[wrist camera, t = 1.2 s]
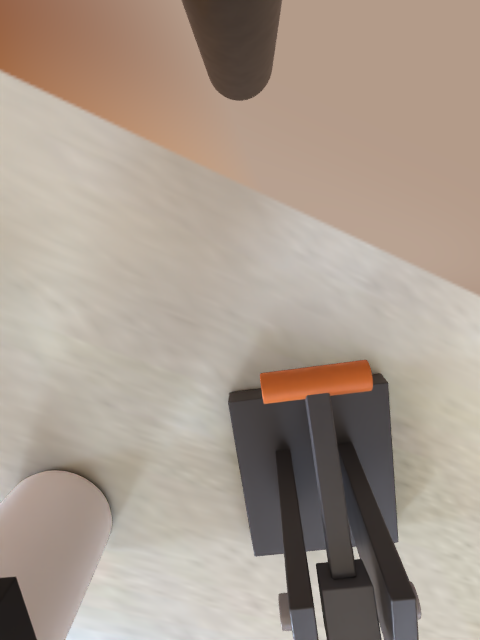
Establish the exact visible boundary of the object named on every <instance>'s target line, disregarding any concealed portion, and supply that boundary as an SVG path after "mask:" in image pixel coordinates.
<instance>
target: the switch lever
mask: <svg viewBox="0 0 480 640" xmlns="http://www.w3.org/2000/svg"><path fill="white" fill-rule="evenodd" d="M260 382H261V390H262V397H263V402H264V404H268V403H277V402H285V401H293V400H301V399H305V403H306V410H307V417H308V424H309V431H310V438H311V445H312V452H313V459H314V466H315V473H316V480H317V487H318V494H319V502H320V509H321V516H322V523H323V530H324V537H325V544H326V551H327V558H328V562H326V563H317V564H316V569H317V576H318V583H319V591H320V598H321V605H322V612H323V619H324V626H325V631H326V637H327V640H381V634H380V627H379V620H378V614H377V607H376V600H375V594H374V587H373V584H372V582H371V579H370V577H369V575H368V572H367V570H366V568H365V565H364V563H363V561H362V559H357V560H354V555H353V548H352V542H351V535H350V528H349V521H348V514H347V508H346V501H345V494H344V487H343V481H342V474H341V467H340V460H339V453H338V447H337V440H336V433H335V426H334V419H333V413H332V406H331V399H330V396H333V395H342V394H350V393H358V392H366V391H371V390H372V388H373V378H372V372H371V368H370V365H369V363H368V361H367V360H360V361H352V362H344V363H337V364H329V365H321V366H313V367H305V368H298V369H290V370H282V371H274V372H266V373H261V374H260Z"/></svg>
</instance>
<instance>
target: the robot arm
mask: <svg viewBox="0 0 480 640" xmlns="http://www.w3.org/2000/svg"><path fill="white" fill-rule="evenodd" d="M0 640H37V638H36V635H35V632H34V629H33V626H32V623H31V620H30V617H29V614H28V611H27V608H26V605H25V602H24V599H23V596H22V593H21V590H20V587H19V584H18V581H17V578H16V577H4V578H0Z"/></svg>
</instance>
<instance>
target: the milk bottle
mask: <svg viewBox="0 0 480 640" xmlns="http://www.w3.org/2000/svg"><path fill="white" fill-rule="evenodd" d="M111 529H112V516H111V511H110V506H109V504H108V502H107V500H106V498H105V496H104V495H103V494H102V492H101V491H100V490H99V489H98V488H97V487H96V486H95V485H94V484H93V483H91V482H90V481H88V480H87V479H86V478H84V477H81V476H79V475H77V474H74V473H70V472H67V471H58V470H53V471H44V472H41V473H37V474H34V475H32V476H29V477H27V478H26V479H24V480H23V481H21V482H20V483H19V484H18V485H17V486H16V487H15V488H14V489H13V490H12V491H11V492H10V493H9V494H8V496H7V497H6V498H5V499H4V500H3V501H2V503H1V504H0V578H4V577H16V578H17V581H18V584H19V587H20V590H21V593H22V596H23V599H24V602H25V605H26V608H27V611H28V614H29V617H30V620H31V623H32V626H33V629H34V632H35V635H36V638H37V640H65V639H66V636H67V634H68V632H69V630H70V627H71V625H72V623H73V621H74V618H75V616H76V614H77V612H78V609H79V607H80V605H81V602H82V600H83V598H84V595H85V593H86V591H87V588H88V586H89V584H90V581H91V579H92V577H93V574H94V572H95V570H96V568H97V565H98V563H99V560H100V558H101V556H102V553H103V551H104V549H105V546H106V544H107V541H108V539H109V536H110V533H111Z"/></svg>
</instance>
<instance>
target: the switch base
mask: <svg viewBox="0 0 480 640" xmlns="http://www.w3.org/2000/svg"><path fill="white" fill-rule="evenodd" d="M372 378H373V388H372V390H371V391H366V392H358V393H350V394H342V395H333V396H330V399H331V406H332V413H333V419H334V426H335V433H336V440H337V447H338V453H339V460H340V467H341V474H342V481H343V487H344V494H345V501H346V508H347V514H348V521H349V528H350V535H351V542H352V547H355V546H356V547H357V550H358V553H359V557H360V559H362V561H363V563H364V565H365V568H366V570H367V572H368V575H369V577H370V579H371V582H372V584H373V587H374V594H375V600H376V607H377V614H378V620H379V623H380V627H381V630H382V633H383V637H384V640H418V622H417V619H420V618H421V608H420V603H419V599H418V595H417V592H416V590H415V587H414V585H413V583H412V582H410V581H409V579H408V576H407V574H406V572H405V569H404V567H403V564H402V562H401V559H400V557H399V555H398V552H397V550H396V547H395V545H394V543H396V542H398V529H397V513H396V498H395V483H394V467H393V452H392V437H391V421H390V406H389V391H388V382H387V381H386V380H385V378H384V377H383V376H382V374H374V375H372ZM228 404H229V410H230V416H231V422H232V428H233V433H234V439H235V445H236V451H237V457H238V463H239V468H240V474H241V480H242V486H243V492H244V498H245V503H246V509H247V515H248V521H249V527H250V532H251V538H252V544H253V550H254V556H265V555H275V554H284V558H285V569H286V580H287V592H288V593H281V594H279V610H280V619H281V626H282V630H283V631H289V630H292V632H293V639H294V640H318V633H317V625H316V618H315V610H314V603H313V596H312V590H311V583H310V576H309V570H308V563H307V556H306V551H315V550H325V549H326V544H325V537H324V530H323V523H322V516H321V509H320V502H319V494H318V487H317V480H316V473H315V466H314V459H313V452H312V445H311V438H310V431H309V424H308V417H307V410H306V403H305V399H301V400H293V401H285V402H277V403H268V404H264V402H263V397H262V390H261V389H255V390H247V391H239V392H231V393H229V401H228Z"/></svg>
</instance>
